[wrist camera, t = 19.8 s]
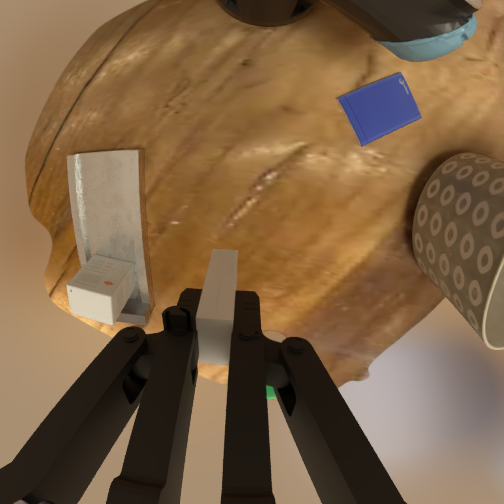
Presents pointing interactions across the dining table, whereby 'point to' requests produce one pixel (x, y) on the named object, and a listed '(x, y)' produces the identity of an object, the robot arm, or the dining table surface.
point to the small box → (101, 289)
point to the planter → (465, 239)
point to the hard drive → (379, 108)
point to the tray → (113, 218)
